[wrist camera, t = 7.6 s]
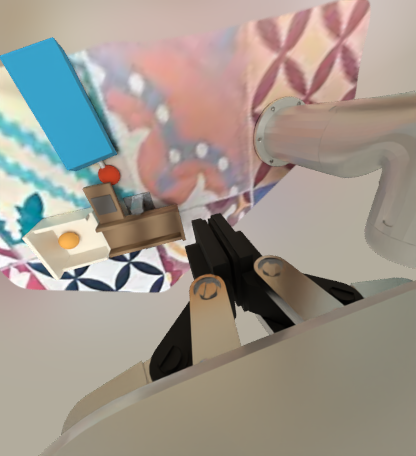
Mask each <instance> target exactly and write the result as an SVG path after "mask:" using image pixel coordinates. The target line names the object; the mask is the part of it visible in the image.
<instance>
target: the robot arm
mask: <svg viewBox="0 0 416 456" xmlns="http://www.w3.org/2000/svg"><path fill="white" fill-rule="evenodd" d="M254 146H255V150H256V153H257V155H258V156H259V158H260V159H261V160H262V161H263V162H264V163H266V164H268V165H271V166H283V165H286V164H288V163H292V164H295V165H299V166H302V167H306V168H309V169H313V170H316V171H320V172H323V173H326V174H330V175H334V176H338V177H343V178H352V177H359V176H362V175H366V174H368V173H371V172H373V171H376V170H378V169H380V168H382V174H381V178H380V181H379V186H378V189H377V192H376V195H375V198H374V201H373V204H372V207H371V210H370V213H369V216H368V219H367V223H366V226H365V239H366V242H367V244H368V245H369V247H370V248H371V249H372V250H373V251H374V252H375V253H377V254H378V255H380V256H382V257H383V258H385V259H387V260H389V261H392V262H394V263H397V264H400V265H403V266H406V267H409V268H414V269H416V91H412V92H406V93H400V94H394V95H387V96H380V97H372V98H363V99H354V100H345V101H335V102H326V103H317V104H307V105H306V104H305V103H304V102H303V101H302V100H300V99H298V98H296V97H284V98H280V99H277V100H275V101H274V102H272V103H271V104H270V105H269V106H268V107H267V108H266V109H265V110H264V111H263V113H262V114H261V115H260V117H259V119H258V121H257V124H256V127H255V132H254ZM192 226H193V231H194V235H195V239H196V243H195V244H191V245H188V246H185V249H186V253H187V257H188V260H189V264H190V268H191V271H192V274H193V278H194V281H193V282H192V284H191V286H190V290H189V294H190V295H189V296H190V301H189V302H188V304H187V305H186V307H185V308H184V310H183V311H182V313H181V314H180V315H179V317H178V318H177V320H176V321H175V323H174V324H173V325H172V327H171V328H170V330H169V331H168V333H167V334H166V336H165V337H164V339H163V340H162V341H161V343H160V344H159V346H158V347H157V349H156V350H155V352H154V353H153V355H152V357H151V358H150V359H149V360H147V361H146V362H144V363H143V362H142V361H140V362H139V363H137V364H136V365H134V366H132V367H131V368H129V369H128V370H126V371H124V372H123V373H121V374H120V375H118V376H117V377H115V378H114V379H112V380H110V381H109V382H107V383H105V384H104V385H102V386H101V387H99V388H97V389H96V390H94V391H93V392H91V393H89V394H88V395H86V396H85V397H84V398H83V399H81V400H80V401H79V402H78V403H77V404H76V405H75V406H74V408H73V409H72V410H71V411H70V413H69V415H68V417H67V419H66V421H65V422H64V425H63V429H62V434H61V436H60V437H59V438H57V440H56V441H54V442H53V443H52V444H51V445H50V446H49V447H47V448H46V449H45V450H44V451H43V452H42V453H41V454H40V455H39V456H416V280H415V281H412V280H410V279H406V278H389V279H380V280H373V281H365V282H357V283H351V285H350V286H349V285H347V284H344V283H341V282H337V281H333V280H328V279H325V278H320V277H316V276H312V275H308V274H303V273H301V272H300V271H299V270H297V269H296V268H295V267H294V266H292V265H291V264H289V263H288V262H287V261H285V260H284V259H282V258H281V257H278V256H273V255H267V256H262V255H261V254H260V253H259V252H258V250H257V249H256V248H255V247H254V246H253V245H252V243H250V241H249V240H248V239H247V238H246V236H245V235H244V234H243V233H242V232H241V231H237V232H235V231H234V230H233V228H232V227H231V226H230V225H229V223H228V222H227V221H226V220H225V218H224V217H223V216H222V215H221V213H219V214H215V215H211V218H210V219H208V223H207V222H206V220H202V219H201V218H200V219H196V220H192ZM235 302H236V304H237V306H242V308H243V310H244V311H248V310H249V311H250V312H253V313H255V314H256V317H257V319H258V320H259V321H260V323H261V324H262V326H263V327H264V328H265V330H266V331H267V332H268V334H269V336H266V337H264V338H261V339H259V340H256V341H254V342H251V343H248V344H246V345H244V346H241V343H240V339H239V335H238V332H237V328H236V324H235V318H236V310H235Z"/></svg>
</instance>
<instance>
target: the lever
mask: <svg viewBox="0 0 416 456" xmlns="http://www.w3.org/2000/svg"><path fill="white" fill-rule="evenodd" d="M0 59H1V61H2V63H3V64H4V66H5V68H6V69H7V71H8V73H9V74H10V76H11V78H12V79H13V81H14V83H15V84H16V86H17V88H18V89H19V91H20V92H21V94H22V96H23V97H24V99H25V101H26V102H27V104H28V106H29V107H30V109H31V111H32V112H33V114H34V116H35V117H36V119H37V121H38V122H39V124H40V126H41V127H42V129H43V131H44V132H45V134H46V136H47V137H48V139H49V141H50V142H51V144H52V145H53V147H54V149H55V150H56V152H57V154H58V155H59V157H60V159H61V160H62V162H63V164H64V165H65V167H66V169H67V170H72V171H77V170H80V169H82V168H85V167H87V166H90V165H92V164H95V163H98V164H99V166H100V167H101V168H100V169H99V171H98V176H99V179H100V181H101V182H102V183H107V182H111V185H115V184H116V183H118V181H119V180H120V174H119V171H118V170H117V169H116V168H115V167H113V166H110V165H105V164H104V162H103V161H102V160H105V159H107V158H110V157H112V156H115V155H117V153H116V151H115V149H114V147H113V145H112V143H111V141H110V139H109V137H108V135H107V133H106V131H105V129H104V127H103V125H102V123H101V121H100V119H99V118H98V116H97V114H96V112H95V110H94V108H93V106H92V104H91V102H90V100H89V98H88V96H87V94H86V92H85V90H84V88H83V86H82V84H81V82H80V80H79V78H78V77H77V75H76V73H75V71H74V69H73V67H72V65H71V63H70V61H69V59H68V57H67V55H66V53H65V51H64V50H63V49H62V47H61V46H60V45H59V44H58V43H57V41H56V40H55V39H54V38H53V37H52V38H49V39H46V40H43V41H40V42H38V43H35V44H32V45H29V46H26V47H23V48H21V49H18V50H15V51H12V52H9V53H7V54H4V55H1V56H0Z"/></svg>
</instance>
